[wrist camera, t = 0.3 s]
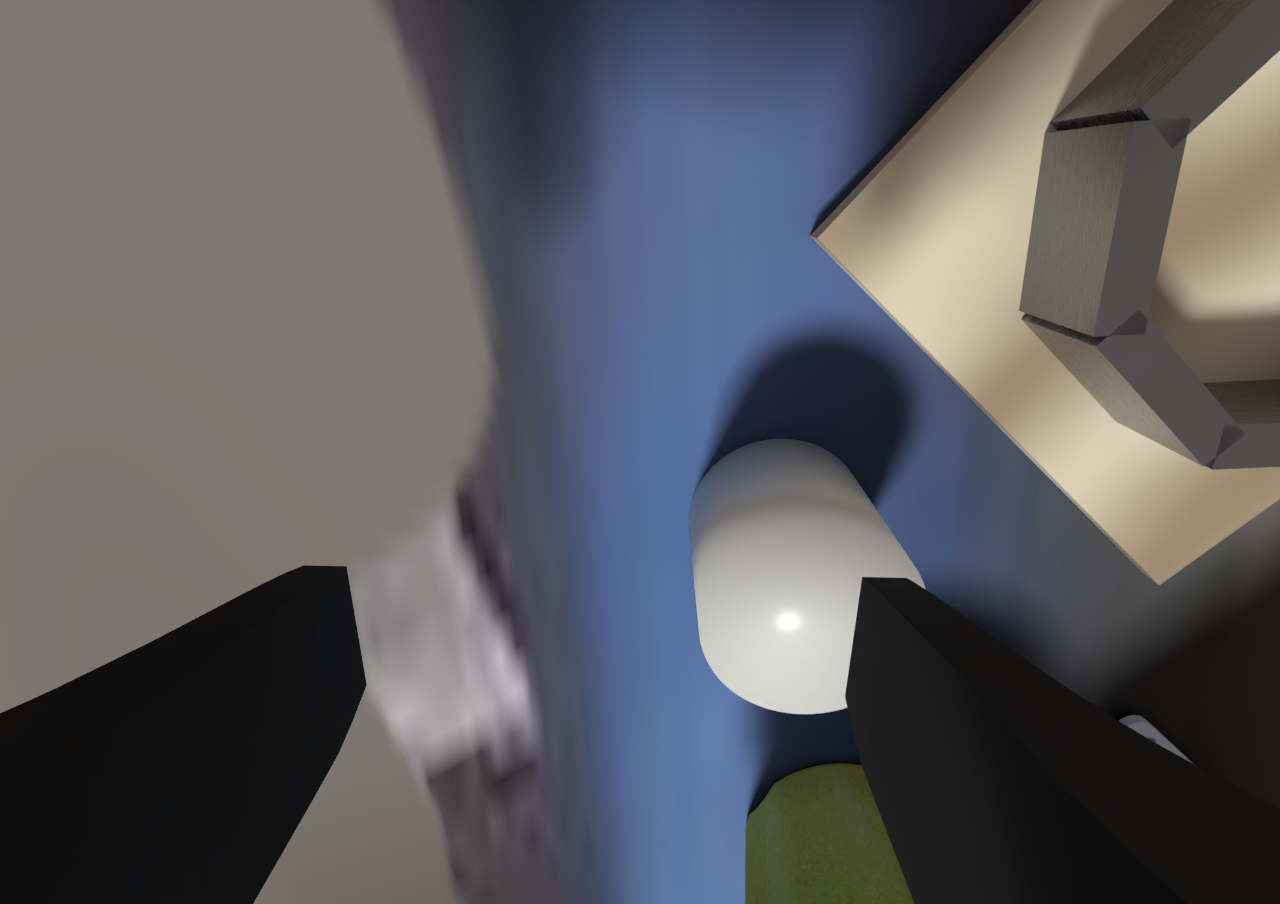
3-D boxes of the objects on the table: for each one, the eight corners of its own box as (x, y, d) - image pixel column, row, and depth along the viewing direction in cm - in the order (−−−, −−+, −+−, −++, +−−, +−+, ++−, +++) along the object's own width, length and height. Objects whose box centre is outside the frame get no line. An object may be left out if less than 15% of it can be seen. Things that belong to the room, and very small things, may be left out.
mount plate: (1665, 186, 16) (1715, 186, 15) (1140, 570, 20) (1159, 585, 19) (1364, -352, 13) (1408, -386, 12) (809, 235, 17) (817, 238, 16)
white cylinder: (900, 514, 19) (976, 618, 15) (773, 622, 21) (807, 748, 16) (777, 402, 18) (819, 476, 14) (652, 524, 20) (651, 630, 15)
